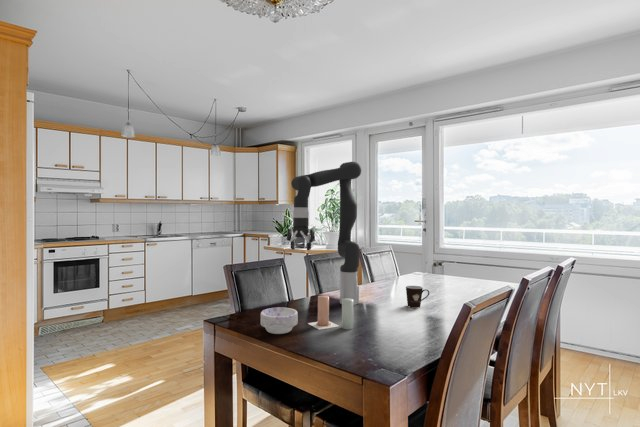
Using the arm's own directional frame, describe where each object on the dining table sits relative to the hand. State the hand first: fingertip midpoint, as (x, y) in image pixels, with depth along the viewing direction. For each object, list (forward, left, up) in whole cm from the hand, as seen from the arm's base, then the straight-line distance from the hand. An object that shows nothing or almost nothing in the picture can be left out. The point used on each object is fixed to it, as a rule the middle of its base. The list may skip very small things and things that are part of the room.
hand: (300, 249), depth 195 cm
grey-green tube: (-5, +34, -30) cm, 46 cm away
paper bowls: (+22, +24, -30) cm, 44 cm away
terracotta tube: (+2, +26, -30) cm, 39 cm away
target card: (+2, +26, -30) cm, 40 cm away
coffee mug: (-58, +20, -30) cm, 68 cm away
